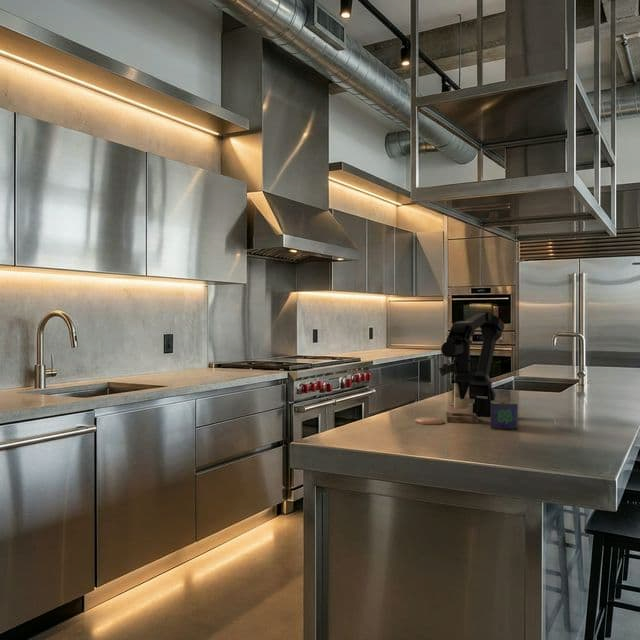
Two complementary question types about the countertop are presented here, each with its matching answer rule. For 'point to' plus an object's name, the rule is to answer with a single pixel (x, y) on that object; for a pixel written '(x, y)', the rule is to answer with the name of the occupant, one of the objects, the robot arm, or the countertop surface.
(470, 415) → the pocket board
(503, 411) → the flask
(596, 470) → the countertop surface
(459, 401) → the maple block
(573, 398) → the countertop surface
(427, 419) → the terracotta plate
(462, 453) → the countertop surface
